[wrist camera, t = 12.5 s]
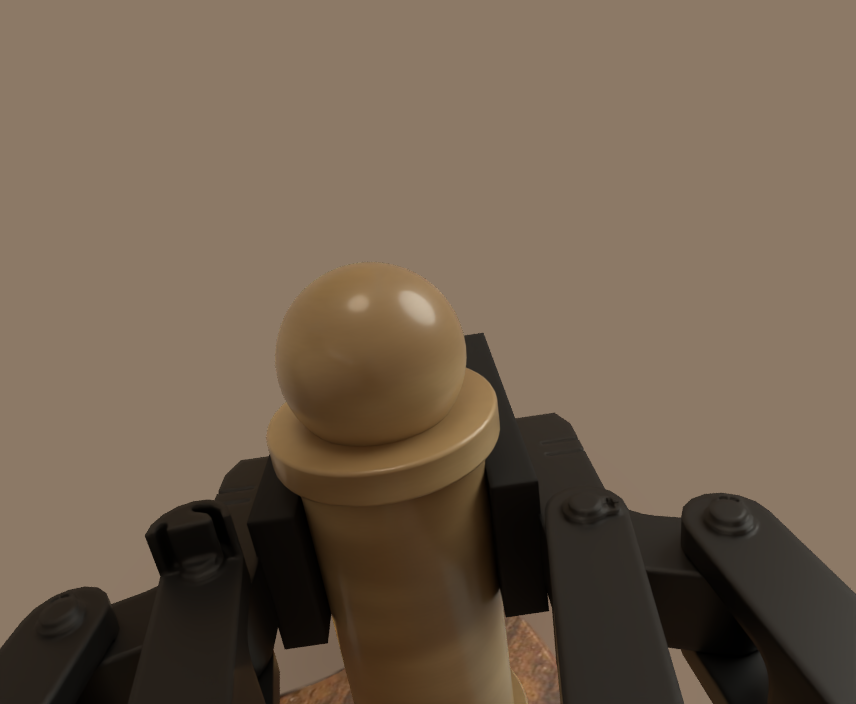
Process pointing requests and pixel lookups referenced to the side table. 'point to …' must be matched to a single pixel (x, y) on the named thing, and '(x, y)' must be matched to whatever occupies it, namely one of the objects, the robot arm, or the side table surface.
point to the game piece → (395, 485)
